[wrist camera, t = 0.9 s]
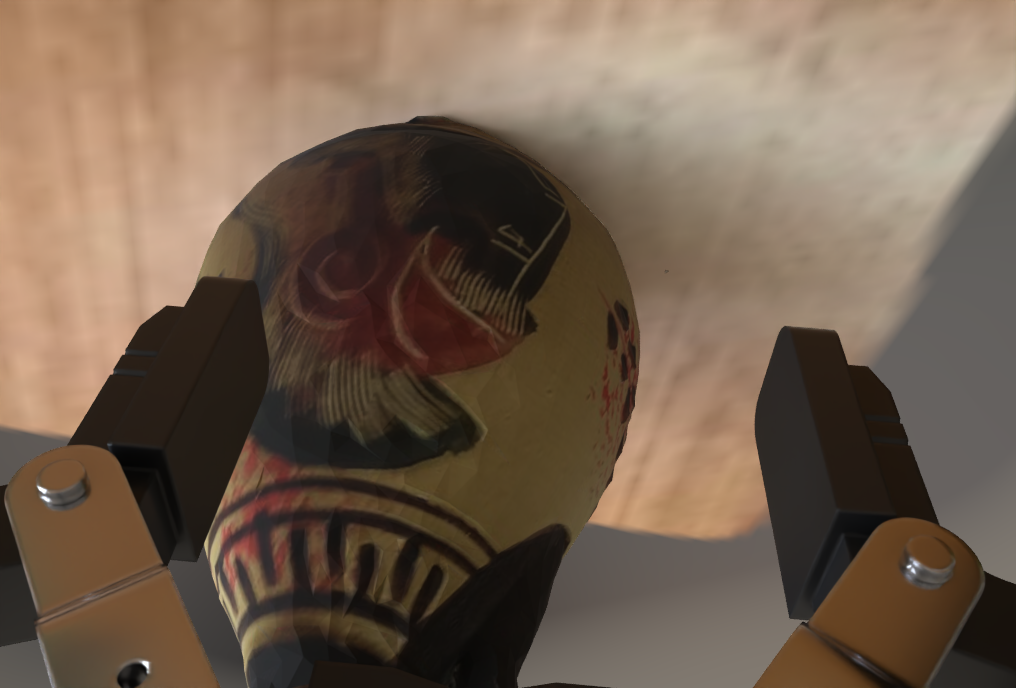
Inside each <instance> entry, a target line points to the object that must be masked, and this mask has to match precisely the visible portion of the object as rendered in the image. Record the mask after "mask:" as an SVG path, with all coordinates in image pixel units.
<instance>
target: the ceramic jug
mask: <svg viewBox="0 0 1016 688" xmlns="http://www.w3.org/2000/svg"><path fill="white" fill-rule="evenodd" d="M667 272H668V270H665V273H667ZM203 276H214V277H225V278H237V279H249V280H254V281H255V283H256V285H257V287H258V291H259V297H260V303H261V310H262V316H263V322H264V328H265V334H266V341H267V347H268V353H269V376H268V383H267V388H266V391H265V394H264V397H263V400H262V402H261V405H260V407H259V409H258V412H257V414H256V417H255V419H254V422H253V424H252V427H251V429H250V432H249V434H248V437H247V439H246V442H245V444H244V446H243V449H242V451H241V454H240V456H239V459H238V461H237V464H236V466H235V469H234V471H233V474H232V476H231V479H230V481H229V484H228V486H227V488H226V491H225V493H224V496H223V498H222V501H221V503H220V506H219V508H218V511H217V513H216V516H215V518H214V521H213V523H212V525H211V528H210V530H209V533H208V535H207V538H206V540H205V543H204V545H205V550H206V554H207V558H208V562H209V566H210V569H211V573H212V576H213V579H214V582H215V585H216V588H217V591H218V594H219V599H220V601H221V603H222V605H223V607H224V609H225V611H226V613H227V615H228V617H229V619H230V621H231V624H232V626H233V629H234V631H235V634H236V636H237V638H238V641H239V643H240V647H241V651H242V654H243V658H244V670H245V676H246V680H247V684H248V688H293V687H297V686H302V685H308V684H309V682H310V678H311V674H312V670H313V666H314V662H315V660H320V661H330V662H341V663H352V664H363V665H373V666H384V667H394V668H396V669H399V670H402V671H405V672H408V673H410V674H413V675H416V676H419V677H422V678H424V679H427V680H430V681H433V682H436V683H438V684H441V685H444V686H447V687H450V688H518V685H517V677H518V674H519V672H520V669H521V666H522V664H523V662H524V660H525V658H526V656H527V653H528V651H529V649H530V647H531V645H532V642H533V639H534V637H535V635H536V632H537V631H538V628H539V625H540V623H541V620H542V618H543V615H544V613H545V611H546V608H547V604H548V600H549V597H550V593H551V589H552V585H553V581H554V578H555V576H556V573H557V571H558V568H559V566H560V563H561V560H562V558H563V557H564V556H565V555H566V554H567V552H568V551H569V549H570V547H571V546H572V545H573V543H574V541H575V540H576V538H577V537H578V535H579V534H580V532H581V531H582V529H583V528H584V526H585V524H586V522H587V521H588V520H589V518H590V517H591V515H592V514H593V512H594V511H595V509H596V508H597V505H598V502H599V499H600V498H601V496H602V494H603V492H604V491H605V489H606V488H607V486H608V485H609V484H610V482H611V481H612V477H613V471H614V466H615V463H616V461H617V459H618V458H619V456H620V454H621V453H622V449H623V446H624V444H625V441H626V436H627V428H628V424H629V421H630V419H631V413H632V411H633V409H634V407H635V394H636V388H637V382H638V376H639V358H640V331H639V326H638V320H637V315H636V310H635V305H634V299H633V296H632V292H631V288H630V285H629V281H628V278H627V275H626V272H625V269H624V266H623V263H622V260H621V257H620V255H619V253H618V250H617V248H616V245H615V243H614V241H613V240H612V238H611V236H610V234H609V233H608V231H607V229H606V228H605V227H604V226H603V225H602V224H601V223H600V222H599V220H598V219H597V218H596V217H595V216H594V215H593V214H592V213H591V212H590V210H589V209H588V208H587V207H586V206H585V205H584V204H583V203H582V202H581V201H580V200H579V198H578V197H577V196H576V195H575V194H574V193H573V192H572V191H571V190H570V189H569V188H568V187H566V186H565V185H564V184H563V183H562V182H561V181H559V180H558V179H557V178H556V177H555V176H553V175H552V174H551V173H550V172H549V171H547V170H546V169H545V168H544V167H542V166H541V165H540V164H539V163H537V162H536V161H535V160H533V159H532V158H530V157H528V156H526V155H525V154H523V153H521V152H519V151H518V150H517V149H515V148H513V147H512V146H510V145H508V144H506V143H504V142H502V141H500V140H498V139H496V138H494V137H492V136H490V135H488V134H486V133H485V132H483V131H481V130H479V129H477V128H474V127H471V126H467V125H463V124H460V123H456V122H453V121H451V120H449V119H447V118H445V117H435V116H417V117H415V118H414V119H412V120H410V121H408V122H406V123H398V124H389V125H381V126H375V127H369V128H363V129H357V130H354V131H352V132H349V133H347V134H344V135H341V136H339V137H336V138H334V139H331V140H329V141H326V142H324V143H322V144H320V145H317V146H315V147H313V148H311V149H309V150H307V151H304V152H302V153H300V154H298V155H296V156H294V157H292V158H290V159H288V160H286V161H284V162H282V163H280V164H279V165H278V166H277V167H276V168H275V169H273V170H272V171H271V172H270V173H269V174H268V175H266V176H265V177H264V178H263V179H262V180H261V181H259V182H258V183H257V184H256V185H255V186H254V188H253V189H252V190H251V191H250V192H249V193H248V194H247V195H246V196H245V197H244V199H243V200H242V201H241V202H240V203H239V204H238V205H237V206H236V208H235V209H234V210H233V211H232V212H231V213H230V214H229V215H228V216H227V218H226V219H225V220H224V221H223V222H222V223H221V224H220V226H219V228H218V230H217V232H216V234H215V236H214V238H213V240H212V242H211V244H210V247H209V249H208V251H207V254H206V256H205V259H204V262H203V265H202V267H201V270H200V273H199V276H198V279H197V282H196V285H197V283H198V282H199V280H200V279H201V278H202V277H203ZM196 285H195V287H196ZM194 289H195V288H194Z"/></svg>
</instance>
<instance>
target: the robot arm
mask: <svg viewBox="0 0 1016 688" xmlns="http://www.w3.org/2000/svg"><path fill="white" fill-rule="evenodd" d="M125 351H126V353H125V355H122V356H121V358H120V360H119V361H118V363H117V365H116V366H115V368H114V369H113V370H114V373H113V375H110V376H109V378H108V379H107V381H106V383H105V384H104V386H103V387H102V389H101V391H100V392H99V394H98V396H97V397H96V399H95V401H94V402H93V404H92V406H91V407H90V409H89V410H88V412H87V414H86V415H85V417H84V419H83V420H82V422H81V424H80V425H79V427H78V428H77V430H76V432H75V433H74V435H73V437H72V438H71V440H70V442H69V443H68V445H67V446H64V447H60V448H56V449H53V450H50V451H48V452H45V453H43V454H41V455H39V456H37V457H35V458H34V459H32V460H31V461H29V462H28V463H26V464H25V465H24V466H23V467H22V468H20V469H19V470H18V471H17V473H16V474H15V475H14V476H13V477H12V479H11V480H10V482H9V484H7V485H3V486H0V647H1V646H6V645H11V644H16V643H21V642H26V641H31V640H36V639H38V641H39V644H40V648H41V651H42V654H43V657H44V661H45V664H46V668H47V672H48V675H49V679H50V682H51V686H52V688H220V685H219V683H218V681H217V679H216V676H215V674H214V672H213V669H212V667H211V665H210V662H209V660H208V658H207V656H206V653H205V651H204V649H203V647H202V644H201V642H200V639H199V637H198V635H197V633H196V630H195V628H194V626H193V624H192V621H191V619H190V617H189V614H188V612H187V610H186V607H185V605H184V603H183V600H182V598H181V596H180V594H179V591H178V589H177V587H176V585H175V582H174V580H173V577H172V575H171V573H170V571H169V569H168V567H167V566H168V563H169V561H170V560H178V561H189V562H197V560H198V558H199V555H200V552H201V550H202V548H203V545H204V543H205V540H206V538H207V535H208V533H209V530H210V528H211V525H212V523H213V521H214V518H215V516H216V513H217V511H218V508H219V506H220V503H221V501H222V498H223V496H224V493H225V491H226V488H227V486H228V484H229V481H230V479H231V476H232V474H233V471H234V469H235V466H236V464H237V461H238V459H239V456H240V454H241V451H242V449H243V446H244V444H245V442H246V439H247V437H248V434H249V432H250V429H251V427H252V424H253V422H254V419H255V417H256V414H257V412H258V409H259V407H260V405H261V402H262V400H263V397H264V394H265V391H266V388H267V383H268V376H269V353H268V347H267V341H266V334H265V328H264V322H263V316H262V310H261V303H260V297H259V291H258V287H257V285H256V283H255V281H254V280H249V279H237V278H225V277H214V276H203V277H202V278H201V279H200V280H199V282H198V283H197V285H196V287H195V289H194V290H193V292H192V294H191V296H190V297H189V299H188V301H187V303H186V304H185V306H184V307H178V306H165V307H164V308H163V309H162V310H160V311H159V312H158V313H156V314H155V315H154V316H152V317H151V318H150V319H148V320H147V321H146V322H144V323H143V324H142V325H141V326H140V327H139V329H138V330H137V332H136V333H135V335H134V337H133V338H132V340H131V342H130V343H129V345H128V347H127V348H126V350H125ZM755 438H756V444H757V449H758V455H759V460H760V465H761V470H762V476H763V481H764V486H765V492H766V497H767V502H768V507H769V513H770V518H771V523H772V528H773V533H774V539H775V544H776V550H777V554H778V560H779V565H780V571H781V576H782V581H783V586H784V592H785V597H786V602H787V608H788V612H789V618H790V619H799V620H809V621H808V622H807V623H805V622H802V623H801V624H800V625H799V626H798V627H797V628H796V630H795V631H794V632H793V634H792V635H791V636H790V637H789V639H788V640H787V642H786V643H785V644H784V646H783V647H782V648H781V650H780V651H779V653H778V654H777V655H776V657H775V658H774V659H773V661H772V662H771V664H770V665H769V667H768V668H767V669H766V670H765V672H764V673H763V675H762V676H761V677H760V679H759V680H758V681H757V683H756V684H755V686H754V687H753V688H1016V584H1014V583H1011V582H1008V581H1005V580H1003V579H1000V578H998V577H995V576H993V575H991V574H989V573H987V572H985V571H983V568H982V565H981V563H980V561H979V560H978V558H977V556H976V555H975V553H974V552H973V551H972V549H971V548H970V547H969V546H968V545H967V544H966V543H965V542H964V541H963V540H962V539H960V538H959V537H958V536H956V535H955V534H954V533H952V532H950V531H949V530H947V529H945V528H943V527H941V526H940V525H939V523H938V519H937V517H936V514H935V511H934V509H933V506H932V503H931V500H930V498H929V495H928V492H927V489H926V487H925V484H924V482H923V479H922V476H921V474H920V471H919V468H918V465H917V462H916V460H915V457H914V454H913V451H912V449H911V446H908V438H907V435H906V432H905V430H904V427H903V424H900V416H899V413H898V411H897V408H896V405H895V402H894V400H893V397H892V394H891V392H890V391H889V389H888V388H887V387H886V386H885V385H884V384H883V383H882V382H881V381H880V380H879V378H878V377H877V376H876V375H875V374H874V373H873V372H872V371H871V370H870V369H869V367H867V366H855V365H848V363H847V360H846V357H845V354H844V351H843V348H842V345H841V342H840V338H839V336H838V334H837V332H836V331H835V330H827V329H815V328H804V327H792V326H784V327H783V328H782V329H781V330H780V332H779V335H778V337H777V340H776V344H775V347H774V350H773V353H772V356H771V359H770V362H769V366H768V369H767V372H766V375H765V378H764V381H763V385H762V388H761V391H760V394H759V397H758V401H757V406H756V413H755ZM293 688H450V687H447V686H444V685H441V684H438V683H436V682H433V681H430V680H427V679H424V678H422V677H419V676H416V675H413V674H410V673H408V672H405V671H402V670H399V669H396V668H394V667H384V666H373V665H363V664H352V663H341V662H330V661H320V660H315V662H314V666H313V670H312V674H311V678H310V682H309V684H308V685H302V686H297V687H293ZM524 688H609V687H597V686H587V685H576V684H566V683H550V684H544V685H538V686H531V687H524Z"/></svg>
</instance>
